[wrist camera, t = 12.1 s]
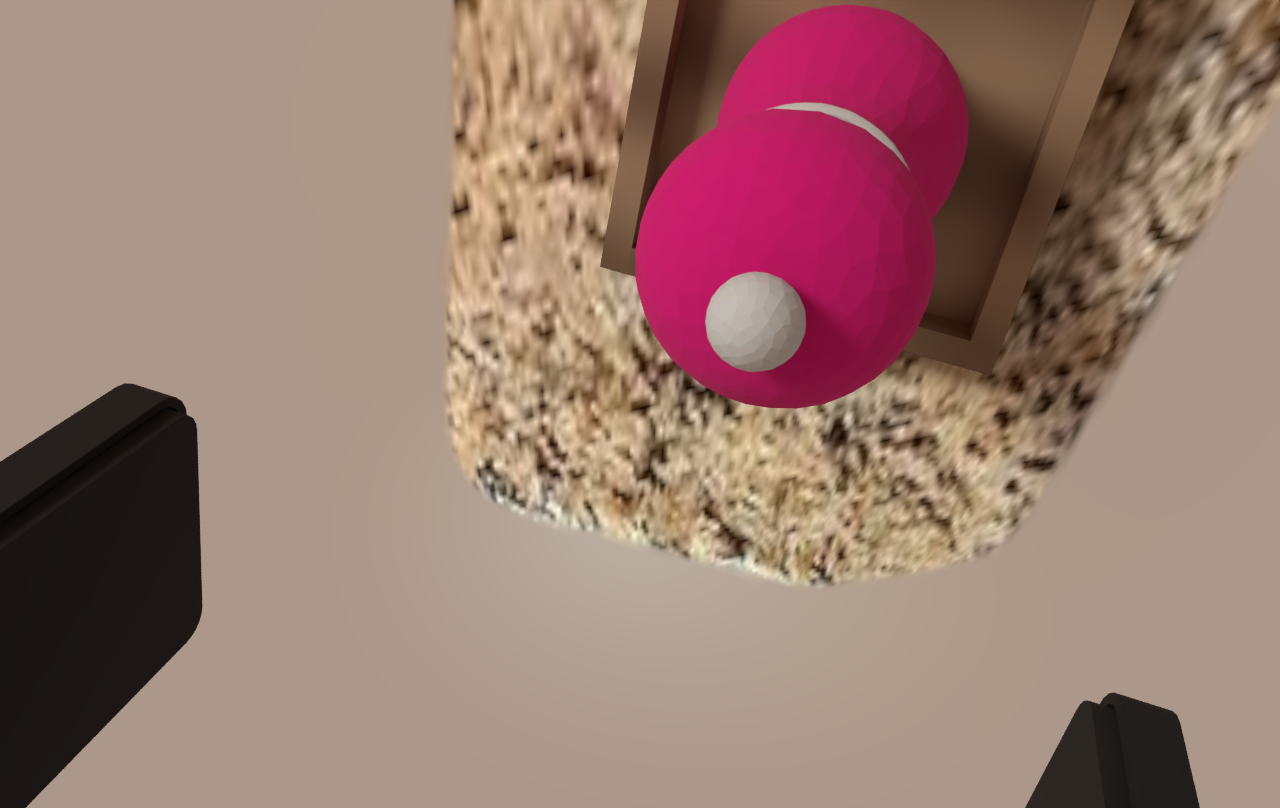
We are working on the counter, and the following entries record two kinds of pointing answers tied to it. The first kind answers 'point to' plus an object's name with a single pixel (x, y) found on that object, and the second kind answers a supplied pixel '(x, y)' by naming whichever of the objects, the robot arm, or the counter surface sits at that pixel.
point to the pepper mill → (806, 211)
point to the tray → (995, 154)
